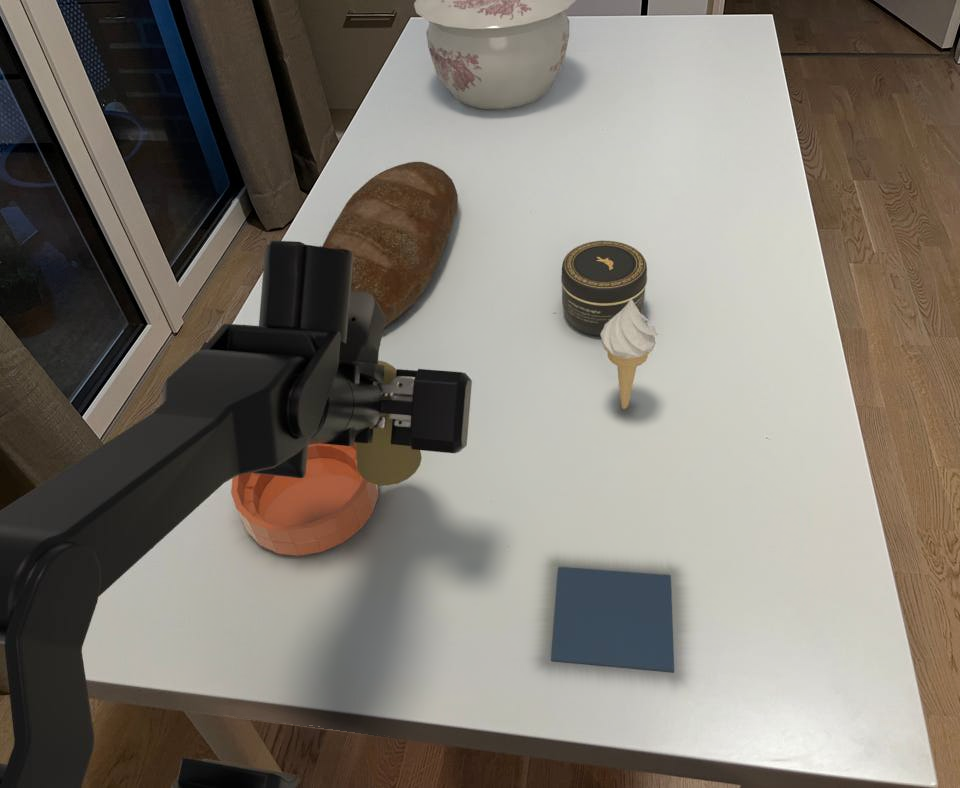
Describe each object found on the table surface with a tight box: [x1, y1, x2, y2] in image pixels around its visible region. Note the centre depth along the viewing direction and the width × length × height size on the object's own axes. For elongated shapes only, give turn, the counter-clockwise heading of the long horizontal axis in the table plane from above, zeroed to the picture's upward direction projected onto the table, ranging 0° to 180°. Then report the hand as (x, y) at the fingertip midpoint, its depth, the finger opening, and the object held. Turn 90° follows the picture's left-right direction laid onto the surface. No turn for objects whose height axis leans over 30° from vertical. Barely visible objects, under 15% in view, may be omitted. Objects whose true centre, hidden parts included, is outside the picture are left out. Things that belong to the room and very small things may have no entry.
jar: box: [560, 240, 648, 337], centre depth 95 cm, size 10×10×8 cm
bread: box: [321, 161, 459, 328], centre depth 107 cm, size 16×36×8 cm, turn 168°
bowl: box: [230, 442, 379, 557], centre depth 79 cm, size 14×14×4 cm
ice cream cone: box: [600, 299, 659, 410], centre depth 81 cm, size 6×6×15 cm
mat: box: [550, 566, 675, 673], centre depth 68 cm, size 10×9×1 cm
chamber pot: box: [413, 0, 577, 110], centre depth 137 cm, size 28×28×21 cm
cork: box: [355, 359, 423, 486], centre depth 70 cm, size 6×6×11 cm
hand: (383, 403), depth 71 cm, fingers closed on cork, 5 cm apart
